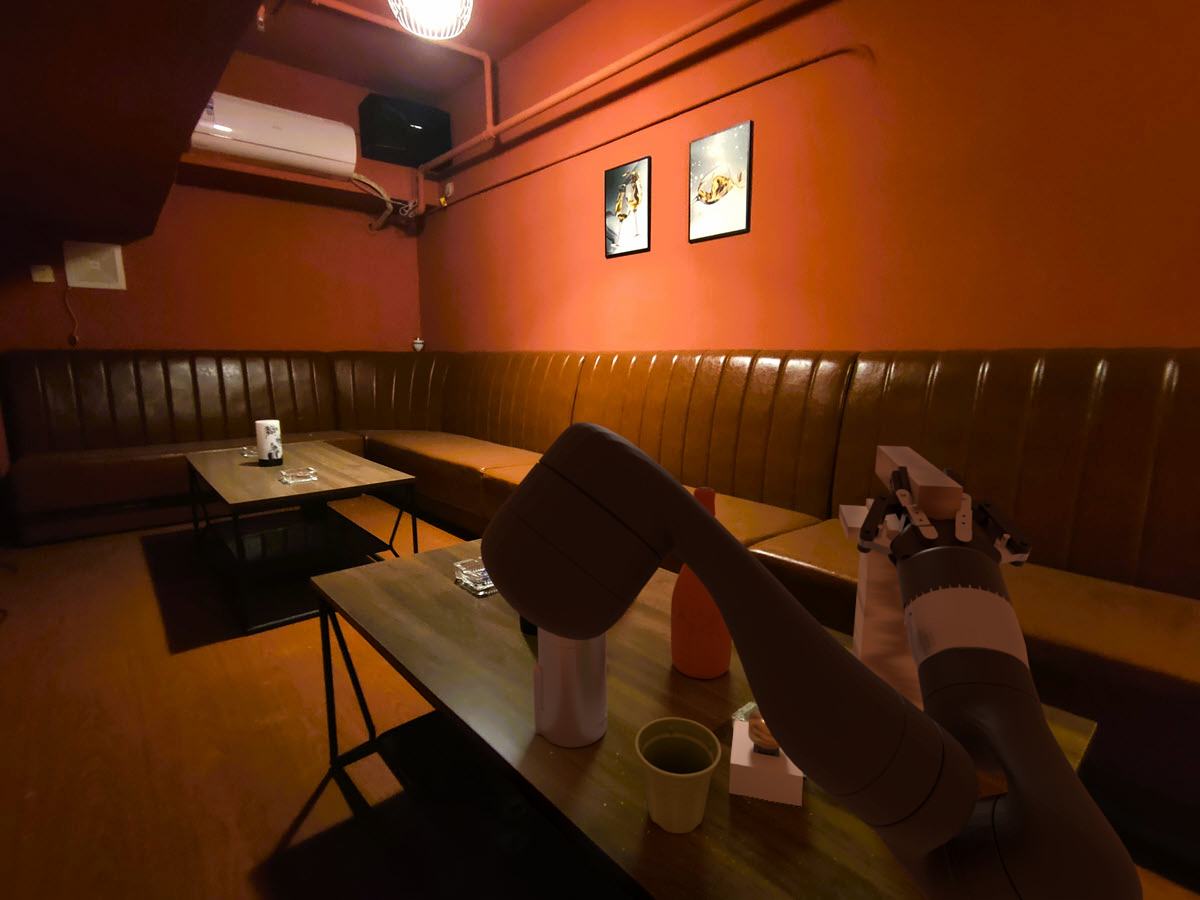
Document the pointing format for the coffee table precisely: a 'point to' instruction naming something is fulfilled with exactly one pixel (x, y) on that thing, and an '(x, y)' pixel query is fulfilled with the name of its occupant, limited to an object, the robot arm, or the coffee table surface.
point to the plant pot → (677, 770)
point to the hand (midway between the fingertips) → (922, 474)
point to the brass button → (761, 735)
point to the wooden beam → (921, 481)
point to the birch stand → (881, 611)
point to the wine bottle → (698, 620)
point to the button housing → (762, 771)
